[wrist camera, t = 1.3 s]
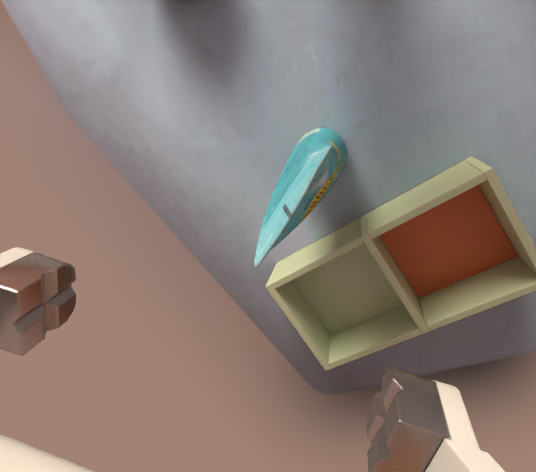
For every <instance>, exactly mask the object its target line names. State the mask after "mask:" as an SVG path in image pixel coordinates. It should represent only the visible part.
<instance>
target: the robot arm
mask: <svg viewBox="0 0 536 472" xmlns="http://www.w3.org/2000/svg"><path fill="white" fill-rule="evenodd" d="M75 280H76V277H75V268H74V267H73V266H72V265H71V264H68V263H65V262H62V261H59V260H56V259H54V258H51V257H47V256H45V255H42V254H39V253H35V252H33V251H30V250H27V249H23V248H12V249H10V250H8V251H5V252H3V253H1V254H0V349H2V350H5V351H8V352H12V353H15V354H18V355H21V356H23V355H24V354H26V353H27V352H28V351H30V350H31V349H32V348H33V347H35V346H36V345H37V344H38V343H40V342H41V341H42V340H44V338H45V334H46V331H49V330H53V329H56V328H59V327H60V326H61V325H62V324H64V323H65V322H66V321H67V320H68V318H69V317H70V315H71V314H72V312H73V310H74V307H75V303H76V294H75V292H74V290H73V289H72V287H71V284H72V283H73V282H74V281H75ZM381 385H382V390H381V391H379V392H377V393H375V394H374V397H373V400H372V402H371V405H370V408H369V413H368V419H367V436H368V438H369V439H370V441H371V442H372V444H371V447H370V448H369V451H368V453H367V455H368V472H505V471H504V470H503V469H502V468H501V467H500V466H499V465H498V463H496V461H495V460H494V459H493V458H492V457H491V456H490V455H489V454H488V453H487V452H484V451H481V450H480V448H479V445H478V442H477V439H476V437H475V434H474V431H473V428H472V425H471V422H470V419H469V417H468V414H467V411H466V408H465V405H464V402H463V399H462V397H461V394H460V391H459V390H458V389H457V388H456V387H455V386H452V385H449V384H445V383H441V382H438V381H435V380H429V379H426V378H423V377H420V376H416V375H413V374H410V373H407V372H404V371H401V370H397V369H394V368H391V367H388V368H387V369H386V370H385V372H384V374H383V376H382V379H381ZM0 472H94V471H92V470H89V469H87V468H84V467H82V466H79V465H77V464H74V463H72V462H69V461H67V460H64V459H62V458H59V457H57V456H54V455H52V454H49V453H47V452H44V451H42V450H39V449H37V448H34V447H32V446H29V445H27V444H24V443H22V442H19V441H16V440H14V439H12V438H9V437H7V436H4V435H2V434H0Z"/></svg>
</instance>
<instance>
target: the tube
mask: <svg viewBox="0 0 536 472" xmlns="http://www.w3.org/2000/svg"><path fill="white" fill-rule="evenodd" d="M346 154H347V151H346V145H345V143H344V141H343V139H342V138H341V136H340V135H339V134H337V133H336V132H335V131H333V130H331V129H327V128H317V129H313V130H311V131H309V132H308V133H306V134H305V135H304V136H303V137H302V138H301V139H300V141H299V142H298V144H297V145H296V147H295V148H294V150H293V152H292V153H291V155H290V157H289V159H288V161H287V163H286V165H285V167H284V169H283V171H282V173H281V175H280V177H279V180H278V182H277V185H276V187H275V190H274V192H273V194H272V197H271V200H270V202H269V205H268V208H267V211H266V214H265V217H264V220H263V223H262V227H261V230H260V234H259V239H258V243H257V249H256V255H255V259H254V265H255V268H257V267H258V266H259V265H260V263H261V262H262V260H263V259H264V258H265V256H266V255H267V254H268V252H269V251H270V250H271V249H273V248H274V247H275V246H276V245H277V244H278V243H279V242H281V241H282V240H283V239H284V238H285V237H286V236H287V235H288V234H289V233H290V232H291V231H293V230H294V229H295V228H296V227H297V226H298V225H299V224H300V223H301V222H302V221H303V220H304V219H305V218H306V217H307V216H308V215H309V213H310V212H311V211H312V210H313V209H314V208H315V207H316V205H317V204H318V203H319V202H320V201H321V200H322V198H323V197H324V196H325V195H326V194H327V192H328V191H329V190H330V188H331V187H332V186H333V184H334V183H335V181H336V180H337V178H338V177H339V175H340V173H341V171H342V169H343V166H344V164H345V160H346Z"/></svg>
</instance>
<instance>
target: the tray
mask: <svg viewBox="0 0 536 472" xmlns="http://www.w3.org/2000/svg"><path fill="white" fill-rule="evenodd" d="M265 287H266V288H267V290H268V291H269V293H270V294H271V295H272V297H273V298H274V300H275V301H276V302H277V304H278V305H279V307H280V308H281V309H282V311H283V312H284V314H285V315H286V316H287V318H288V319H289V320H290V322H291V323H292V325H293V326H294V327H295V329H296V330H297V332H298V333H299V334H300V336H301V337H302V339H303V340H304V341H305V343H306V344H307V346H308V347H309V348H310V350H311V351H312V352H313V354H314V355H315V357H316V358H317V359H318V361H319V362H320V364H321V365H322V366H323V368H324V369H325V371H327V370H329V369H331V368H335V367H337V366H340V365H343V364H345V363H348V362H350V361H353V360H356V359H358V358H361V357H364V356H366V355H369V354H371V353H374V352H377V351H379V350H382V349H385V348H387V347H390V346H392V345H395V344H398V343H400V342H403V341H406V340H408V339H411V338H413V337H416V336H419V335H421V334H424V333H427V332H429V331H432V330H434V329H437V328H440V327H442V326H445V325H448V324H450V323H453V322H455V321H458V320H461V319H463V318H466V317H469V316H471V315H474V314H476V313H479V312H482V311H484V310H487V309H490V308H492V307H495V306H497V305H500V304H503V303H505V302H508V301H511V300H513V299H516V298H518V297H521V296H524V295H526V294H529V293H532V292H534V291H536V248H535V246H534V244H533V242H532V241H531V239H530V237H529V235H528V233H527V231H526V229H525V228H524V226H523V224H522V222H521V220H520V218H519V216H518V214H517V213H516V211H515V209H514V207H513V205H512V203H511V201H510V200H509V198H508V196H507V194H506V192H505V190H504V188H503V186H502V185H501V183H500V181H499V179H498V177H497V175H496V173H495V172H494V170H493V168H491V167H490V166H488V165H486V164H484V163H483V162H481V161H479V160H477V159H476V158H474V157H472V156H471V157H470V158H468V159H466V160H464V161H462V162H460V163H459V164H457V165H455V166H453V167H451V168H449V169H448V170H446V171H444V172H442V173H440V174H438V175H437V176H435V177H433V178H431V179H429V180H427V181H426V182H424V183H422V184H420V185H418V186H416V187H415V188H413V189H411V190H409V191H407V192H405V193H404V194H402V195H400V196H398V197H396V198H394V199H393V200H391V201H389V202H387V203H385V204H383V205H382V206H380V207H378V208H376V209H374V210H372V211H371V212H369V213H367V214H365V215H363V216H361V217H360V218H358V219H356V220H354V221H352V222H350V223H349V224H347V225H345V226H343V227H341V228H339V229H338V230H336V231H334V232H332V233H330V234H328V235H327V236H325V237H323V238H321V239H319V240H318V241H316V242H314V243H312V244H310V245H308V246H307V247H305V248H303V249H301V250H299V251H297V252H296V253H294V254H292V255H290V256H288V257H286V258H285V259H283V260H281V261H279V262H277V263H276V266H275V268H274V270H273V272H272V274H271V276H270V278H269V280H268V282H267V284H266V286H265Z"/></svg>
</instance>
